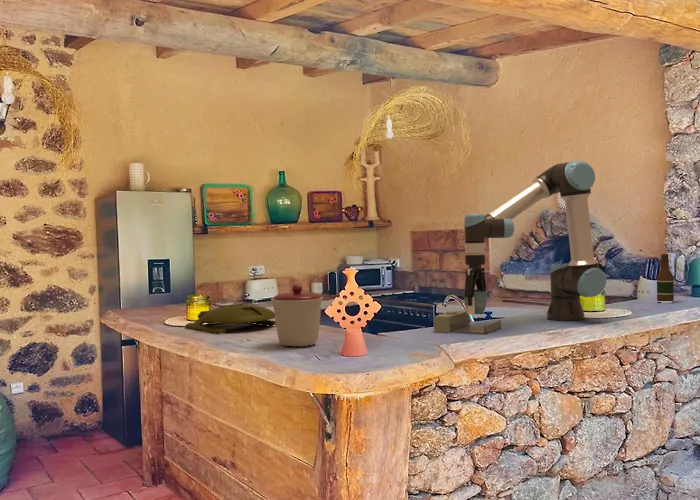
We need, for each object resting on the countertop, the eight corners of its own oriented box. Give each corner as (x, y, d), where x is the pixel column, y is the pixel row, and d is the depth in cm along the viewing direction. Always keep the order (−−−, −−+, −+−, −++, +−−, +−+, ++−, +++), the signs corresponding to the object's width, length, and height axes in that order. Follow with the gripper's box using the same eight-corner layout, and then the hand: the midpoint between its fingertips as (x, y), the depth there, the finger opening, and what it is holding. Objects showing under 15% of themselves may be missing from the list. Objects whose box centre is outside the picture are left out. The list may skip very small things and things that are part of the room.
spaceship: (183, 329, 296) (182, 305, 295) (245, 321, 316) (244, 299, 315) (226, 337, 269) (225, 312, 269) (291, 328, 289) (290, 304, 289)
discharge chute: (501, 328, 271) (501, 320, 270) (486, 334, 257) (486, 325, 257) (467, 326, 278) (467, 318, 278) (451, 332, 264) (450, 323, 264)
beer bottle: (671, 301, 346) (670, 253, 345) (676, 303, 338) (675, 254, 338) (654, 302, 347) (654, 253, 347) (659, 303, 340) (658, 254, 339)
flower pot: (487, 315, 262) (487, 291, 262) (463, 315, 264) (463, 291, 264) (488, 312, 271) (487, 289, 270) (464, 312, 272) (464, 289, 272)
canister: (293, 339, 256) (292, 282, 256) (334, 343, 246) (333, 283, 246) (261, 347, 241) (259, 286, 240) (303, 351, 231) (301, 287, 230)
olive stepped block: (469, 326, 280) (468, 308, 279) (448, 333, 263) (448, 314, 262) (455, 325, 283) (454, 308, 283) (434, 332, 266) (433, 313, 265)
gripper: (476, 253, 278) (477, 309, 279) (454, 255, 259) (455, 315, 260) (494, 253, 274) (495, 309, 275) (473, 255, 255) (474, 316, 256)
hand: (476, 312), depth 267 cm, fingers closed on flower pot, 10 cm apart
